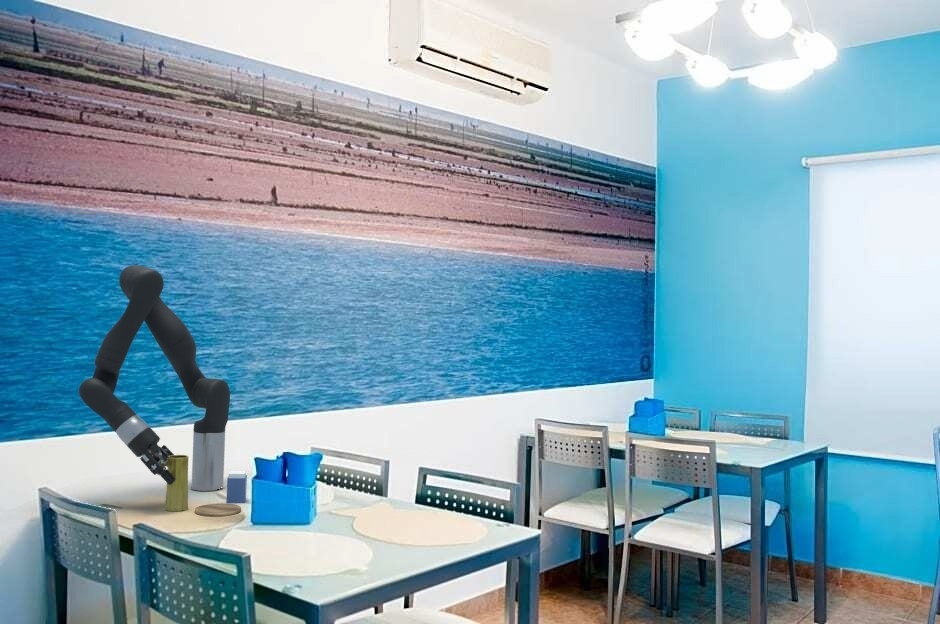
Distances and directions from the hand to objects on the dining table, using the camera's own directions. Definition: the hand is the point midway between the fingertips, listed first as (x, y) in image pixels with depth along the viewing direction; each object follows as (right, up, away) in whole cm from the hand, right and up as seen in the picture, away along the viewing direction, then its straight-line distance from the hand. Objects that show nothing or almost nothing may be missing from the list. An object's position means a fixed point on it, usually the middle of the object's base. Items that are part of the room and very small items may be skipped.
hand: (178, 479), depth 231 cm
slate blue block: (+12, -9, +12) cm, 19 cm away
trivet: (+11, -8, -1) cm, 14 cm away
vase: (-1, -8, 0) cm, 8 cm away
